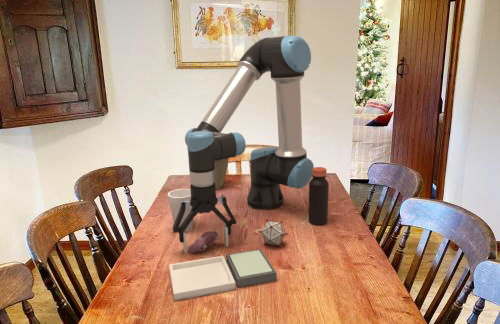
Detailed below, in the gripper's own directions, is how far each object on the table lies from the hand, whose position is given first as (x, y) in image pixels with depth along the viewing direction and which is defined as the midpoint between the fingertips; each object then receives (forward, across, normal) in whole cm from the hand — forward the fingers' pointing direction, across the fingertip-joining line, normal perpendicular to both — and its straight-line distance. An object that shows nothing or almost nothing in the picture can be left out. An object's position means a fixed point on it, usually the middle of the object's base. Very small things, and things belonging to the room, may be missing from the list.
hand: (206, 248), depth 119 cm
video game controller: (0, 0, 0) cm, 1 cm away
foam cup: (0, +5, -18) cm, 19 cm away
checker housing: (0, -10, +17) cm, 19 cm away
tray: (0, +4, +17) cm, 18 cm away
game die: (0, -21, +4) cm, 21 cm away
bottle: (0, -42, -7) cm, 43 cm away
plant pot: (0, -14, -59) cm, 61 cm away
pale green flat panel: (-1, -9, +17) cm, 20 cm away
